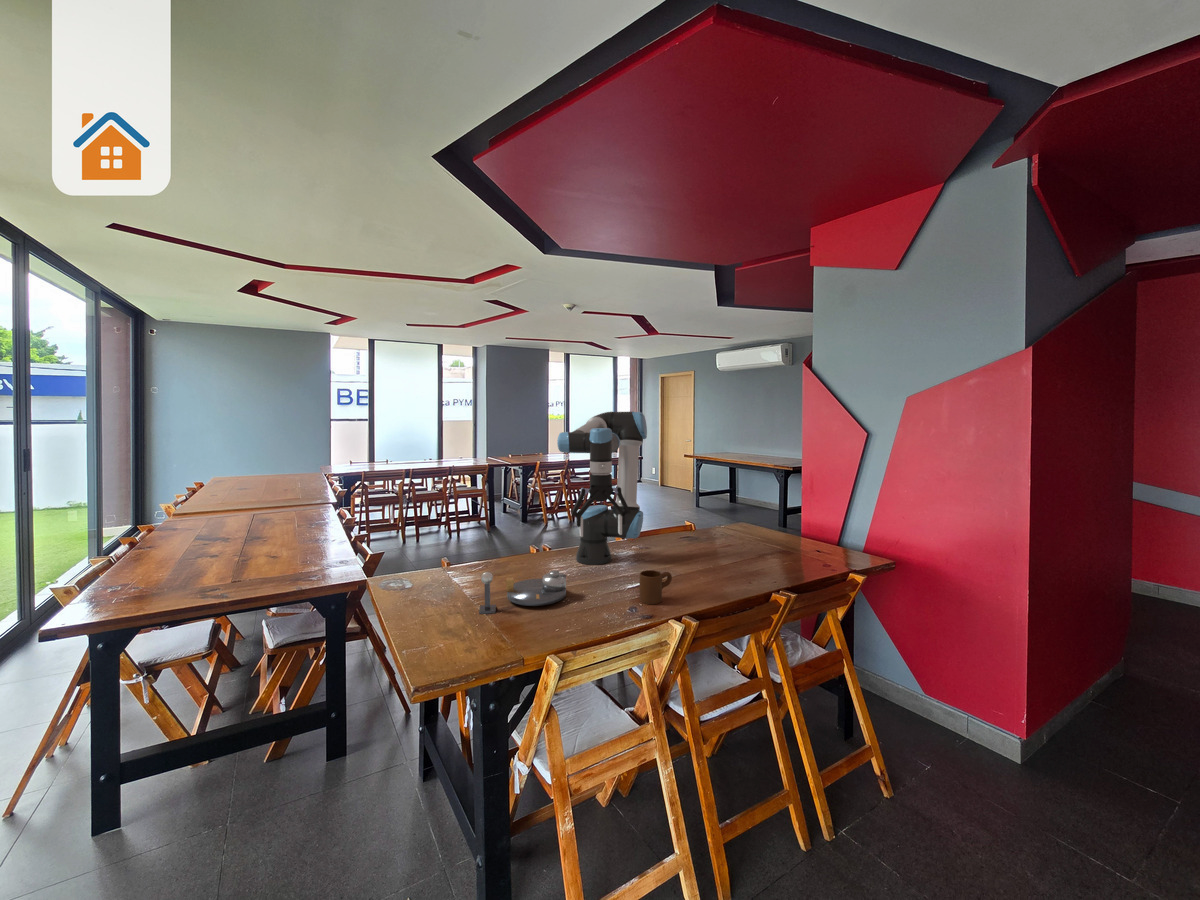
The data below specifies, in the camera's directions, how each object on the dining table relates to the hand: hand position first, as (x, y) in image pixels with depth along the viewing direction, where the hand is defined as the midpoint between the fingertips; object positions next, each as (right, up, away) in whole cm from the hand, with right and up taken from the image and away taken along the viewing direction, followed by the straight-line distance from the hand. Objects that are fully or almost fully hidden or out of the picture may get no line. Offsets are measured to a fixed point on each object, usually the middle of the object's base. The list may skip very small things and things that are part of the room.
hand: (600, 535), depth 168 cm
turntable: (-22, -20, -1) cm, 30 cm away
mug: (+19, -22, -2) cm, 29 cm away
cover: (-16, -18, 0) cm, 24 cm away
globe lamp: (-36, -22, -11) cm, 44 cm away
